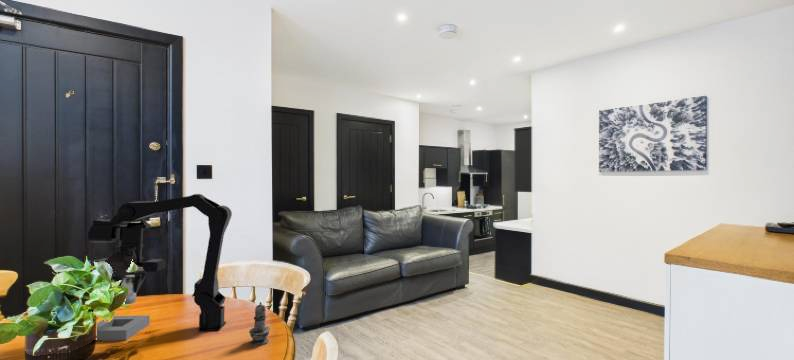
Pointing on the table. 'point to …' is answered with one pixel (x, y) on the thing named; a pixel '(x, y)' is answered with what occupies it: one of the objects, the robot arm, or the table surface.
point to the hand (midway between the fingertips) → (128, 292)
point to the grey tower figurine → (259, 327)
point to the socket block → (121, 327)
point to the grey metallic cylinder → (129, 288)
